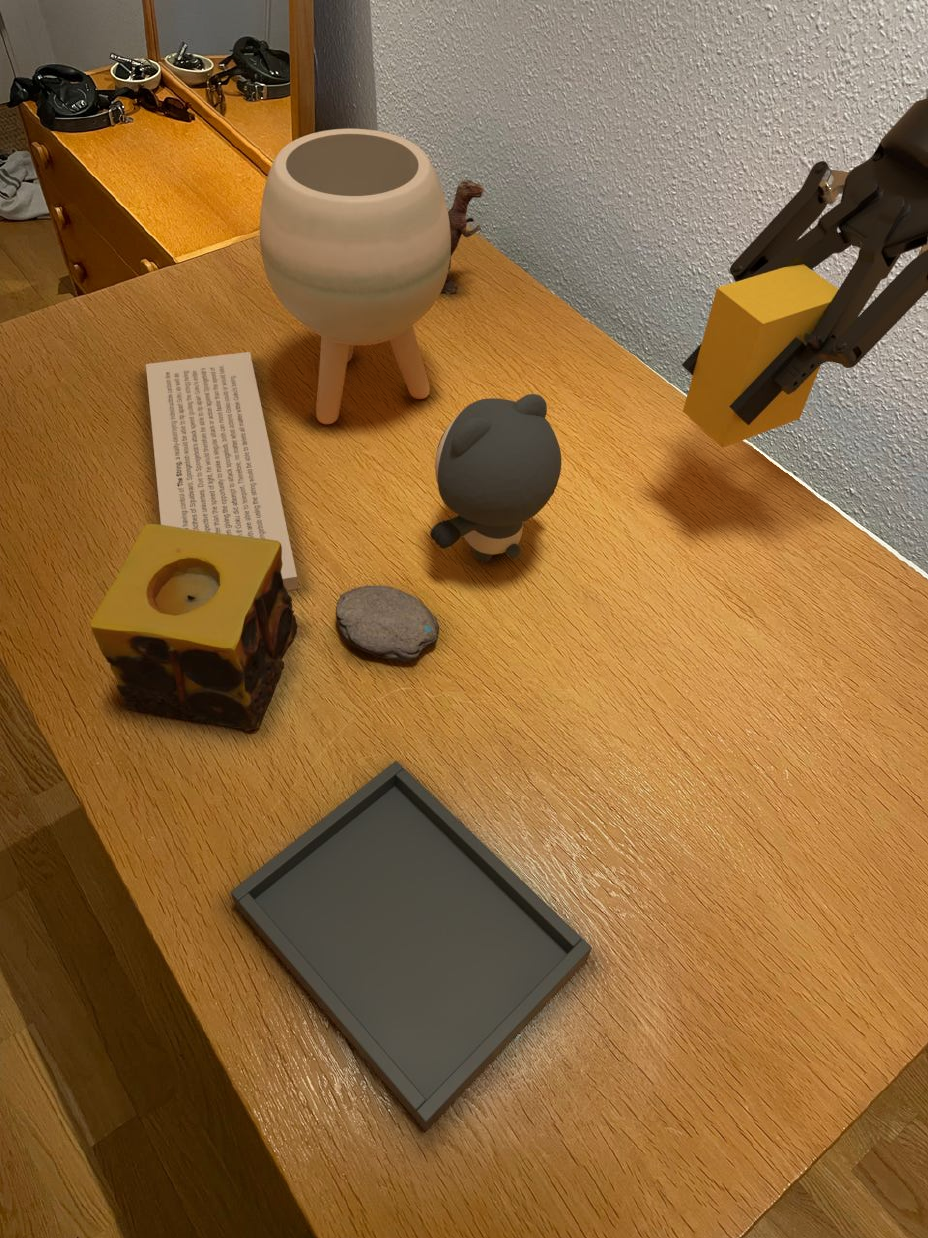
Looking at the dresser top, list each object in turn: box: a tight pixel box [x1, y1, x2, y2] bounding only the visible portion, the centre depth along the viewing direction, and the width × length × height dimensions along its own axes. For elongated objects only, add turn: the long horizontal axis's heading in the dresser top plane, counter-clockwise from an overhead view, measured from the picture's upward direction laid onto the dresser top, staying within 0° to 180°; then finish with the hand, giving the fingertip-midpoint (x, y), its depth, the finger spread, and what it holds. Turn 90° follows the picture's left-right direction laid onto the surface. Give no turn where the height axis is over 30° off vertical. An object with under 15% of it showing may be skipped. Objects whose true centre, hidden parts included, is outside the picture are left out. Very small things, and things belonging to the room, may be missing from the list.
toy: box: [429, 393, 562, 563], centre depth 74 cm, size 12×10×15 cm
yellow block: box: [682, 264, 839, 449], centre depth 71 cm, size 5×8×11 cm, turn 119°
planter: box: [259, 128, 451, 425], centre depth 84 cm, size 16×16×22 cm
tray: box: [230, 760, 593, 1132], centre depth 58 cm, size 18×14×2 cm
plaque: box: [145, 351, 300, 592], centre depth 84 cm, size 30×2×10 cm
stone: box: [335, 584, 440, 663], centre depth 73 cm, size 7×8×2 cm
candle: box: [90, 522, 298, 732], centre depth 67 cm, size 10×10×10 cm
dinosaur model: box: [441, 179, 485, 295], centre depth 100 cm, size 4×12×15 cm
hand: (715, 394), depth 72 cm, fingers closed on yellow block, 5 cm apart
